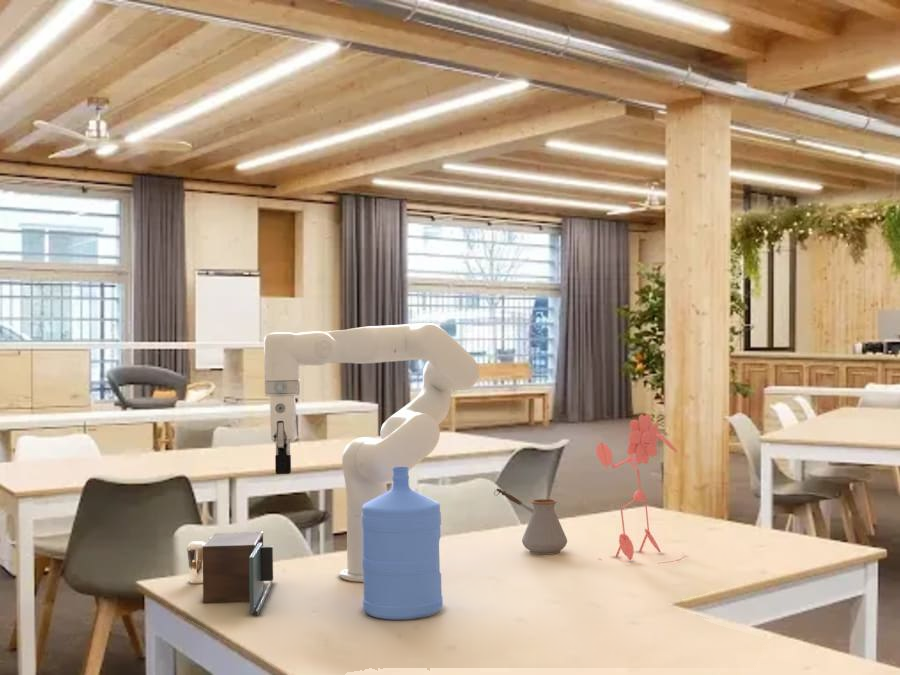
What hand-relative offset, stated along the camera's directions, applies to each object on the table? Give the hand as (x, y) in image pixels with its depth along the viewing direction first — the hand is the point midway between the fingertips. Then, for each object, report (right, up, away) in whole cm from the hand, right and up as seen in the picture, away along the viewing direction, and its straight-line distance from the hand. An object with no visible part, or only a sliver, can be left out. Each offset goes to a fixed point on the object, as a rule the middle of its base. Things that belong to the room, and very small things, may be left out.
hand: (283, 473), depth 215 cm
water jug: (+27, -24, -21) cm, 42 cm away
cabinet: (-8, -25, -9) cm, 28 cm away
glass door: (-2, -24, -15) cm, 28 cm away
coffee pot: (+57, -25, +39) cm, 73 cm away
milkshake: (-20, -26, +8) cm, 34 cm away
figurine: (+85, -24, +25) cm, 92 cm away
